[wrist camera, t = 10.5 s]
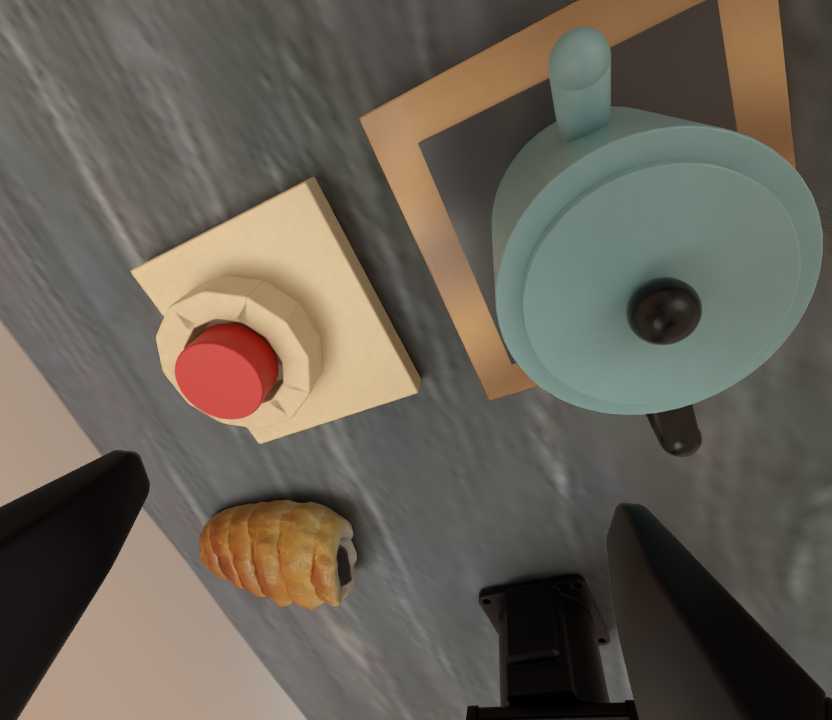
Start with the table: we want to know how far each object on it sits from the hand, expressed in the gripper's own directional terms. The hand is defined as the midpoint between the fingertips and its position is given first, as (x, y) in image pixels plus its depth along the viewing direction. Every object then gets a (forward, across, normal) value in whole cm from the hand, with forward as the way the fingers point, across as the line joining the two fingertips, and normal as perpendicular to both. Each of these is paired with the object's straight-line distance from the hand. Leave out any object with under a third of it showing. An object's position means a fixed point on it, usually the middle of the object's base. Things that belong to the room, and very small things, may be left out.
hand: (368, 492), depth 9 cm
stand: (+13, -6, -3) cm, 14 cm away
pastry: (+13, +8, +18) cm, 23 cm away
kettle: (+11, -6, -3) cm, 12 cm away
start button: (+10, +8, +4) cm, 14 cm away
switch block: (+13, +6, +3) cm, 15 cm away
